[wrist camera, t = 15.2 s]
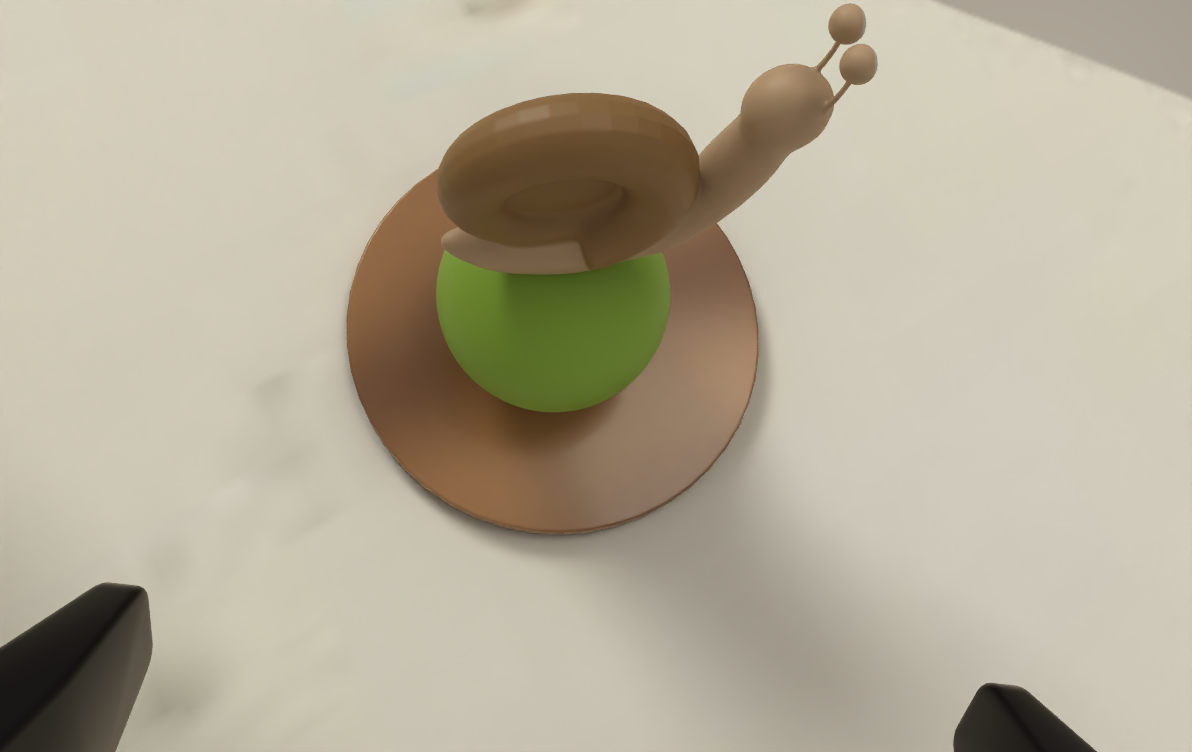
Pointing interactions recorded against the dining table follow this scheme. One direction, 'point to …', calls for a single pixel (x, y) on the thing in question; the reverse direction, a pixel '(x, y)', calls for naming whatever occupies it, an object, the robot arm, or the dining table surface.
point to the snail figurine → (601, 223)
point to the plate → (548, 439)
